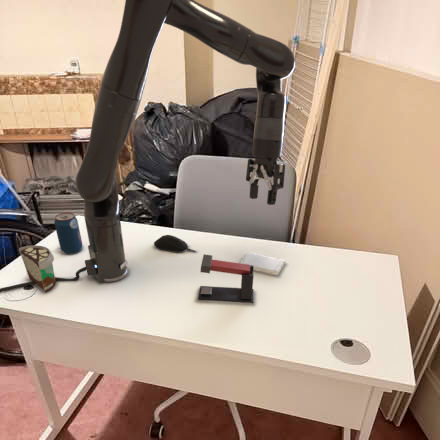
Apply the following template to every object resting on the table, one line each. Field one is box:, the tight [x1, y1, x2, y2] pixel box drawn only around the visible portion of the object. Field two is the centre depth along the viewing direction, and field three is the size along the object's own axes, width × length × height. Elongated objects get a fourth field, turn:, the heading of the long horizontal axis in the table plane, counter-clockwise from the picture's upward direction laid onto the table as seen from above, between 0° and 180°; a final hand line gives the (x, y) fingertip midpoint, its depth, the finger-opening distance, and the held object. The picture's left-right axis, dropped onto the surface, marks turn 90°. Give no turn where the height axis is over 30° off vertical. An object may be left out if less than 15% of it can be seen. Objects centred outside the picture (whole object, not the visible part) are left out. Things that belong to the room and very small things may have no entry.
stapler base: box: [197, 265, 254, 304], centre depth 107 cm, size 15×6×9 cm, turn 86°
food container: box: [18, 245, 57, 293], centre depth 111 cm, size 12×6×10 cm, turn 47°
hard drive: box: [239, 251, 286, 276], centre depth 123 cm, size 2×8×12 cm
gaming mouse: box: [153, 234, 196, 253], centre depth 131 cm, size 6×15×4 cm, turn 70°
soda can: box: [53, 212, 84, 255], centre depth 126 cm, size 7×7×12 cm
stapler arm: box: [200, 254, 250, 276], centre depth 104 cm, size 13×6×2 cm, turn 86°
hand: (261, 201), depth 107 cm, fingers open, 8 cm apart
